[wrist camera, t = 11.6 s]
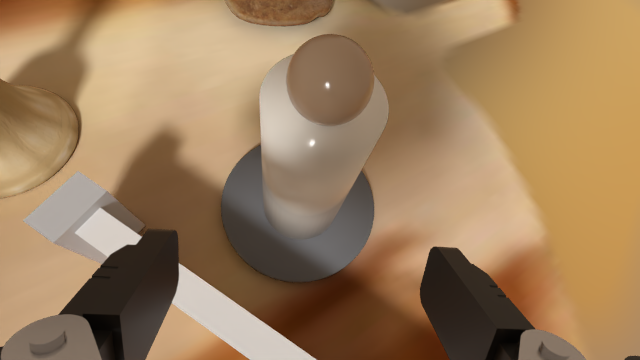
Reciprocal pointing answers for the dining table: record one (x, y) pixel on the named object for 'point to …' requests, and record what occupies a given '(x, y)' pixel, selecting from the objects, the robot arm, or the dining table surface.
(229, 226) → the coaster
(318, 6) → the brown clay vessel
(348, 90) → the shaker
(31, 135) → the hand bell
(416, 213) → the dining table surface
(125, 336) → the robot arm
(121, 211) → the rail
